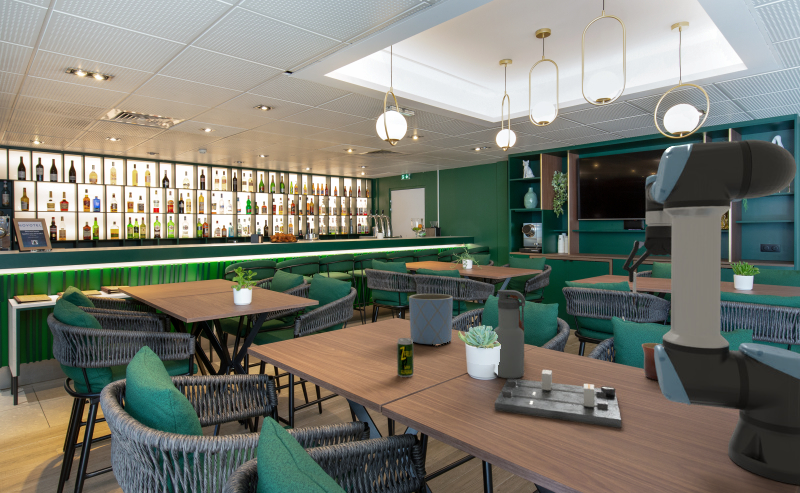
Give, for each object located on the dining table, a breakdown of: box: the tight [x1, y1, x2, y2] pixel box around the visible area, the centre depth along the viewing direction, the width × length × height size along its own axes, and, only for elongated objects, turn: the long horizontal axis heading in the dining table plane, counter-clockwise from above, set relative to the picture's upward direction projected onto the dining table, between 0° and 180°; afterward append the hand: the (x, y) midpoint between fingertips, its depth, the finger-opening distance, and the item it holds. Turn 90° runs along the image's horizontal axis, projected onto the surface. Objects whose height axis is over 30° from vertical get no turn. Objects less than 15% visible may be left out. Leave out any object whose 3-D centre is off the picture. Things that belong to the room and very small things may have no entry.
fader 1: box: [541, 369, 553, 390], centre depth 127 cm, size 4×2×5 cm, turn 158°
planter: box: [408, 293, 454, 346], centre depth 194 cm, size 19×19×20 cm
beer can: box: [396, 337, 415, 378], centre depth 147 cm, size 5×5×12 cm
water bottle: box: [493, 289, 526, 380], centre depth 147 cm, size 10×10×28 cm
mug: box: [641, 342, 663, 381], centre depth 141 cm, size 12×9×10 cm
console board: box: [494, 378, 622, 429], centre depth 122 cm, size 22×30×4 cm
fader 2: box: [583, 383, 595, 407], centre depth 115 cm, size 4×2×5 cm, turn 158°
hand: (659, 293), depth 138 cm, fingers open, 13 cm apart
